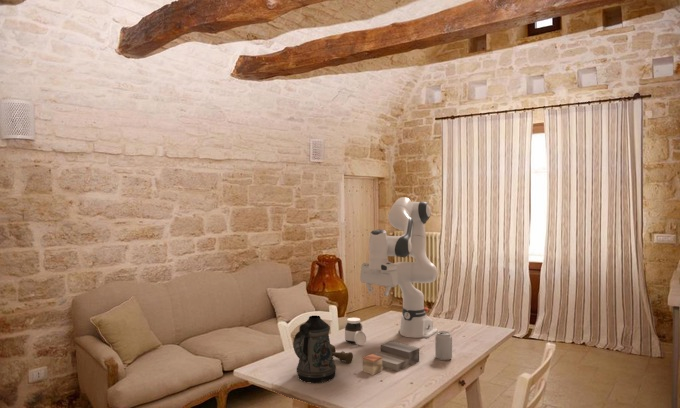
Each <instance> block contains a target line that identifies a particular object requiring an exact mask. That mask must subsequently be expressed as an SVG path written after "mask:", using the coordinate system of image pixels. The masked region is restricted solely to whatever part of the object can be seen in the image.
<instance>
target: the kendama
mask: <svg viewBox="0 0 680 408" xmlns="http://www.w3.org/2000/svg"><path fill="white" fill-rule="evenodd" d="M330 346H331V351H332V356H333V358H336V359H338V360H339V361H340V362H346V364H352V361H353V359H354V355H353V352H352V351H350V352H346V351H343V350H342V351H340V352H338V351H337V349H336V346H334V345H333V344H331V343H330ZM336 351H337V352H336Z"/></svg>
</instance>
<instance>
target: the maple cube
mask: <svg viewBox="0 0 680 408" xmlns="http://www.w3.org/2000/svg"><path fill="white" fill-rule="evenodd" d="M373 354H374V353H370V354H368V355H366V356H365V355H364V356H363V357H362V372H364V373H367V374H370V375H376V374H378V373H381V372H383V367H382V357H380V356H377V355H373Z"/></svg>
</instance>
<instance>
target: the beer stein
mask: <svg viewBox="0 0 680 408" xmlns="http://www.w3.org/2000/svg"><path fill="white" fill-rule="evenodd" d="M330 330H331V327H330V325H329V324H328V323H327V322H326V321H325V320H323V319H322V318H321V316H320V315H310V316H308V319H307V320H306V321H305V322H304V323H302V324H300V325H299V330H298V332H296V334H295V335H294V338H293V342H292V345H293V350H294V354H295V355H296V356H297V358H298V363H297V365H296V373H297V378H299V379H298V380H300V379H301V380H302V382H304V381H305V383H307V382H311V383H310V384H323V383H326V382H327V381H328V382H330V381H332V380H334V378H335V377H336V371H337V366H336V363H335V361H334V356H332V351H331V346H330V344H331V340H330V336H329V335H330V334H329V333H330ZM301 380H300V381H301ZM322 382H323V383H322Z"/></svg>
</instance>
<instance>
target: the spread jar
mask: <svg viewBox="0 0 680 408" xmlns="http://www.w3.org/2000/svg"><path fill="white" fill-rule="evenodd" d="M346 320H347V321H346V325H345V326H344V327H345V328H344V339H345V342H347V343H348V344H350V343H351V345H352V344H354V345H357V346H364V345H366V342H367V335H366V334H365V333H364V331H363V324H362V323H361V318H359V317H349V318H347V319H346Z"/></svg>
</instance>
